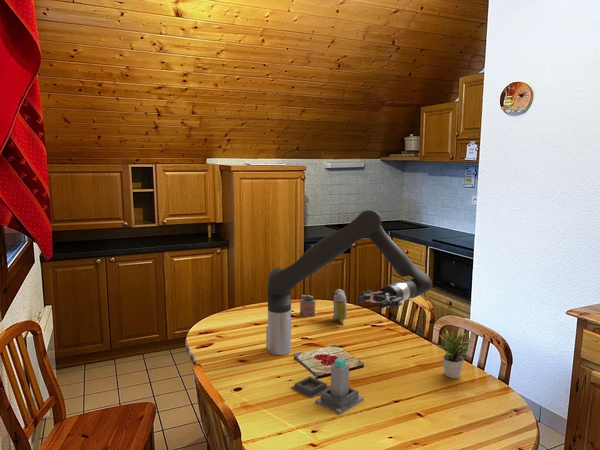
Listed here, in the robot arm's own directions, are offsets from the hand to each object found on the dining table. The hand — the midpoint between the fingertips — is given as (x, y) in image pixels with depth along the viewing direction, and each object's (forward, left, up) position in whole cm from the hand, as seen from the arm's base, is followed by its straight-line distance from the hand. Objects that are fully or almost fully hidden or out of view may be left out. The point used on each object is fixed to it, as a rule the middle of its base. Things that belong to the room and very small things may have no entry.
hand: (368, 303), depth 157 cm
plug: (+2, -18, -27) cm, 32 cm away
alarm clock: (-45, +39, -28) cm, 66 cm away
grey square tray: (-10, -18, -28) cm, 35 cm away
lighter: (-62, +36, -28) cm, 77 cm away
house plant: (+20, +24, -28) cm, 42 cm away
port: (+3, -18, -28) cm, 33 cm away
